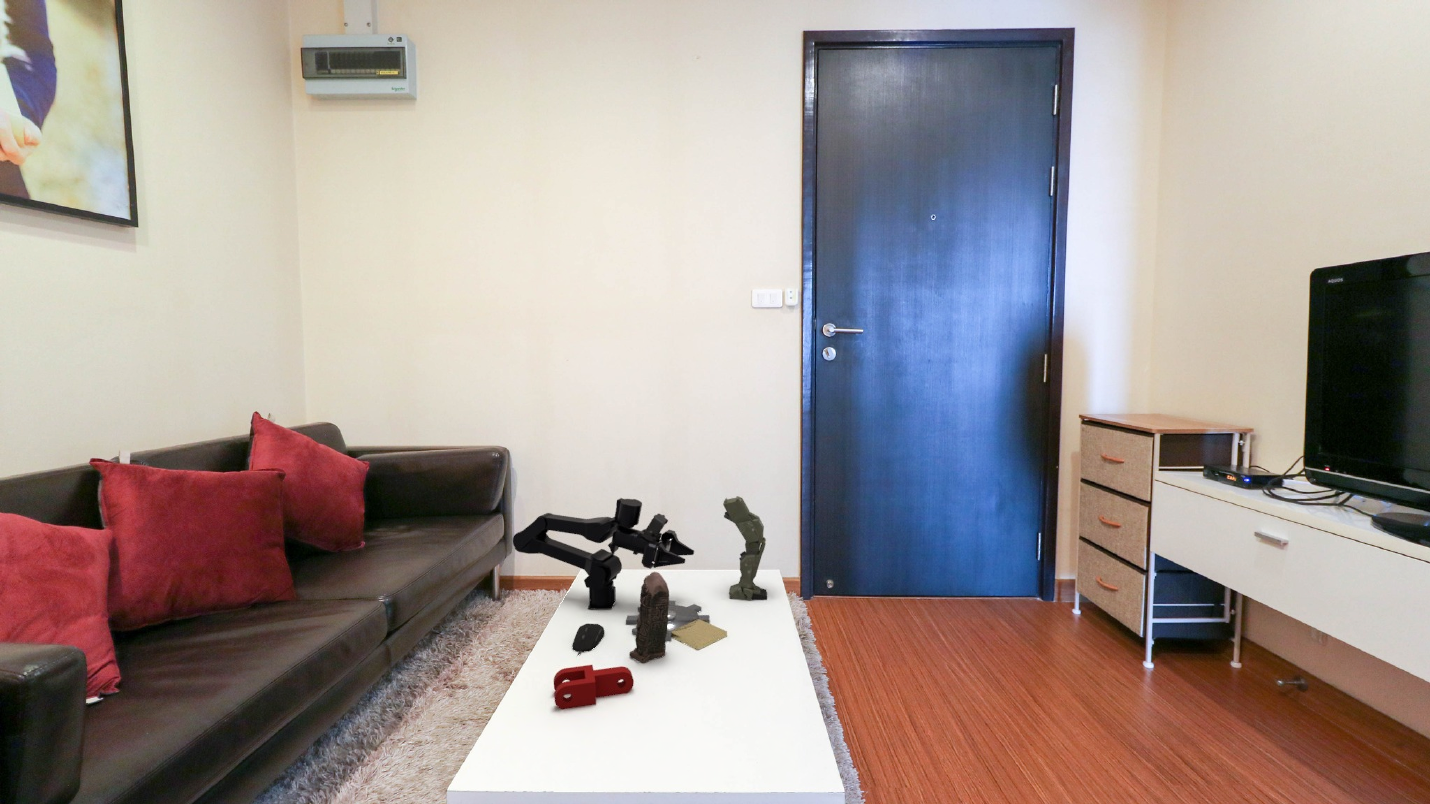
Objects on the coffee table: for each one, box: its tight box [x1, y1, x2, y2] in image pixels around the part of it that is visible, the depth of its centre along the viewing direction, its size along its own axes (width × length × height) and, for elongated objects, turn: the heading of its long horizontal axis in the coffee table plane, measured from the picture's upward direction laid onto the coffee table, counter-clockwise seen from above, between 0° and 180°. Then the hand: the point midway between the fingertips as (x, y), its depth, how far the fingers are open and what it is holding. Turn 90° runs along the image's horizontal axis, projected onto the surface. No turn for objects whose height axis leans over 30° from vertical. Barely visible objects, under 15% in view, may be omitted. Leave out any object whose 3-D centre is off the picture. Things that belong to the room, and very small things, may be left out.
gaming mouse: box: [571, 623, 605, 656], centre depth 153 cm, size 6×15×4 cm, turn 173°
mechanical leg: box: [723, 496, 768, 601], centre depth 180 cm, size 14×7×30 cm, turn 84°
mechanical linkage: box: [553, 664, 635, 711], centre depth 130 cm, size 16×7×5 cm, turn 106°
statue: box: [629, 571, 670, 664], centre depth 145 cm, size 7×7×20 cm
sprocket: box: [625, 600, 728, 650], centre depth 162 cm, size 27×21×2 cm
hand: (689, 557), depth 167 cm, fingers open, 9 cm apart
